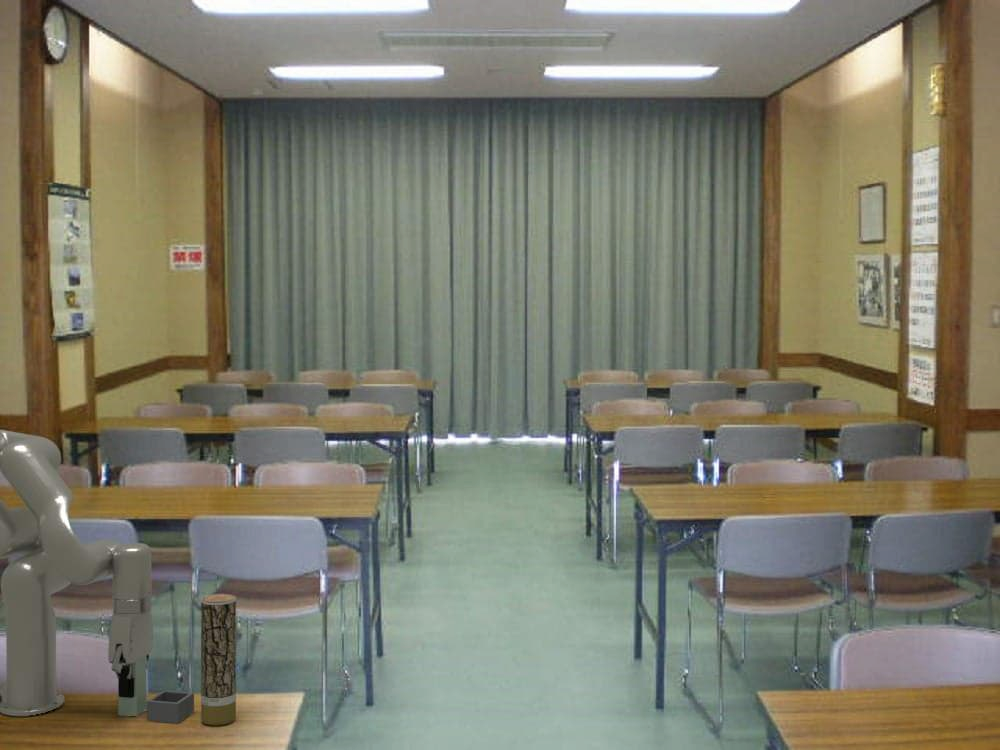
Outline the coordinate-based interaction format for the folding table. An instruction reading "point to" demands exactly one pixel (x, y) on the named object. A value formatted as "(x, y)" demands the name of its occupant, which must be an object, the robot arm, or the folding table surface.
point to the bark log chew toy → (218, 659)
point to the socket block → (170, 706)
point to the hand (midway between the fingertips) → (132, 692)
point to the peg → (135, 691)
